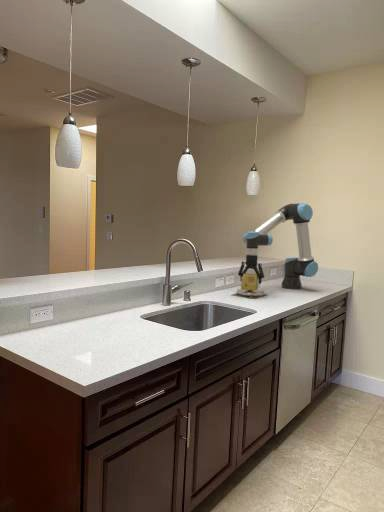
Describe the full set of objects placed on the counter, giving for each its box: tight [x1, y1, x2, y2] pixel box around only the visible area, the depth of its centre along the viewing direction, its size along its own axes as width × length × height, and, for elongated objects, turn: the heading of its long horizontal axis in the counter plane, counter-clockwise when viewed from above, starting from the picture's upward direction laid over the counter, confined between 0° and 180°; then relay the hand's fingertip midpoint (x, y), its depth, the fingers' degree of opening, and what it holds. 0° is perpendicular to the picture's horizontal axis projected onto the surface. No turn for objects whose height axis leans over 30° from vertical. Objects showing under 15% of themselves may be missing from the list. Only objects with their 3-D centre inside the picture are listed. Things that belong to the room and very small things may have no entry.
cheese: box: [240, 272, 258, 291], centre depth 259 cm, size 10×11×10 cm
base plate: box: [231, 292, 269, 300], centre depth 264 cm, size 19×18×1 cm
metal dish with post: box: [236, 288, 265, 297], centre depth 263 cm, size 18×18×9 cm
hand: (250, 287), depth 259 cm, fingers closed on cheese, 11 cm apart
